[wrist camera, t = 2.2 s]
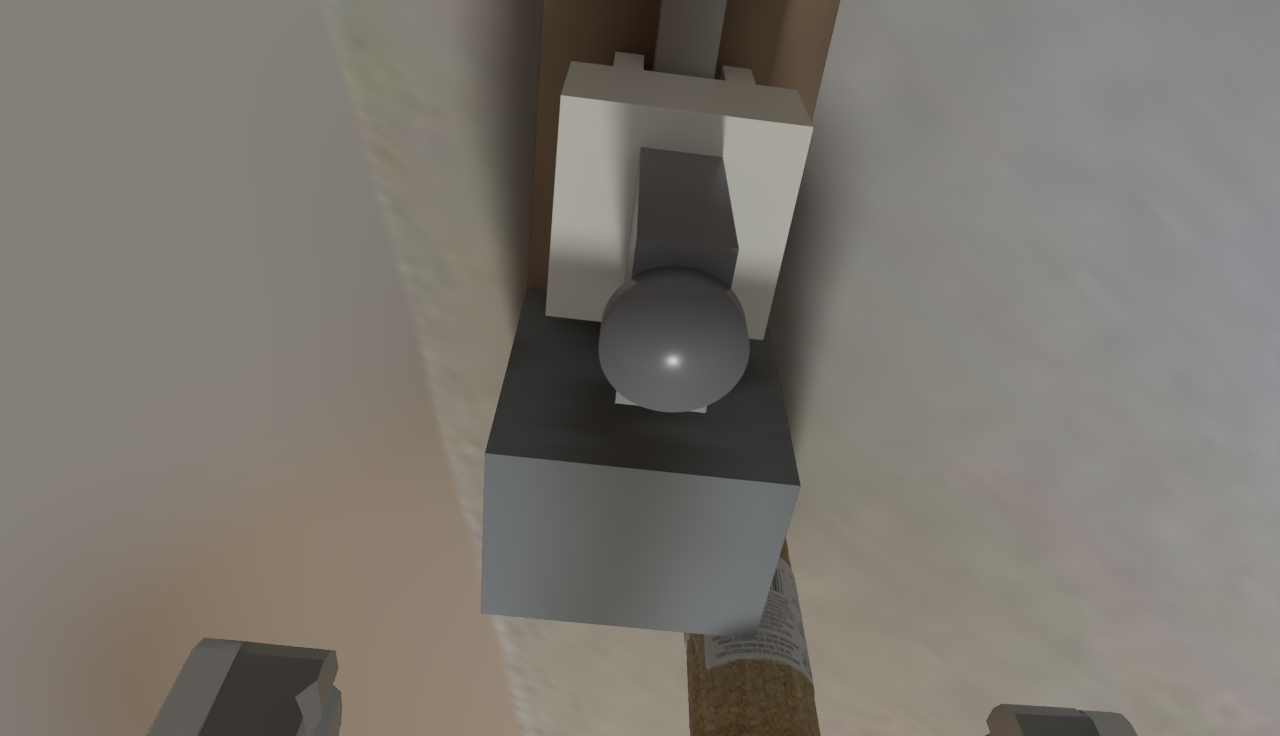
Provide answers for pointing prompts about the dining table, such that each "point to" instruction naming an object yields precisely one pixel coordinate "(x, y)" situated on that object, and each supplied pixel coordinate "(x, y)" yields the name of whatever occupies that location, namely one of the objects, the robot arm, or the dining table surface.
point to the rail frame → (628, 434)
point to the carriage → (672, 222)
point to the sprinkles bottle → (755, 672)
